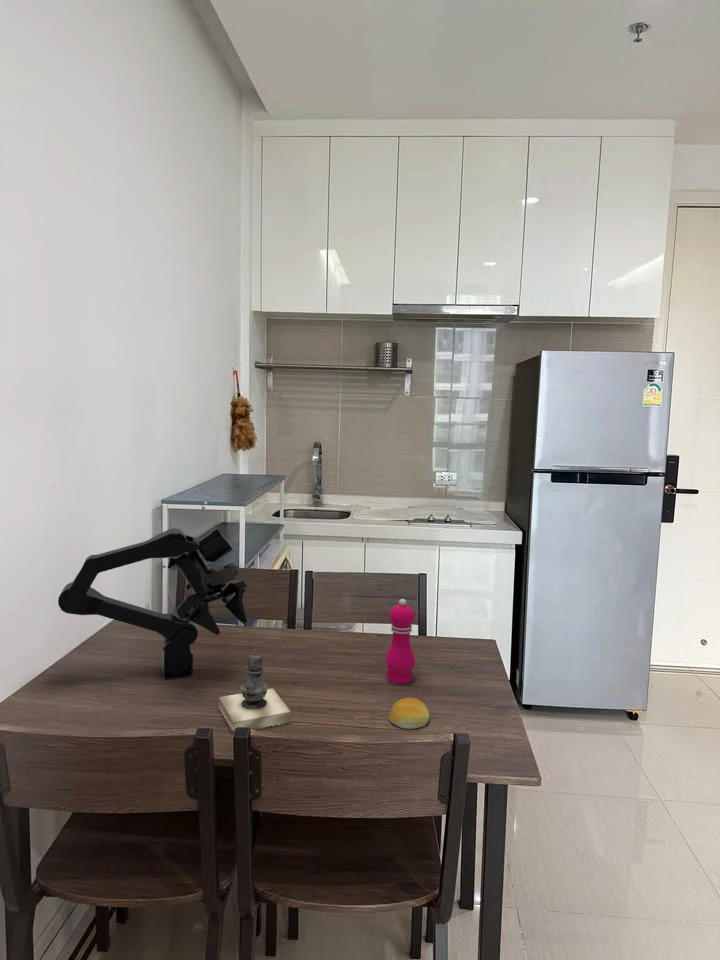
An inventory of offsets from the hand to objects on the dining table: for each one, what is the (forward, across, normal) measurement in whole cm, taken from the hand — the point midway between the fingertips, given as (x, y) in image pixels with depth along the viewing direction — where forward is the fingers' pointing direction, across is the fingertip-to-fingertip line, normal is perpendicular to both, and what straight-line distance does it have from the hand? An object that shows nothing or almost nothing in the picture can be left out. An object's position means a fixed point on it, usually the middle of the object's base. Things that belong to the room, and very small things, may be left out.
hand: (232, 628), depth 149 cm
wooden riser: (+20, -9, 0) cm, 22 cm away
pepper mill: (+32, +25, -12) cm, 42 cm away
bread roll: (+40, +8, -20) cm, 45 cm away
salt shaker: (+18, -9, -2) cm, 20 cm away
